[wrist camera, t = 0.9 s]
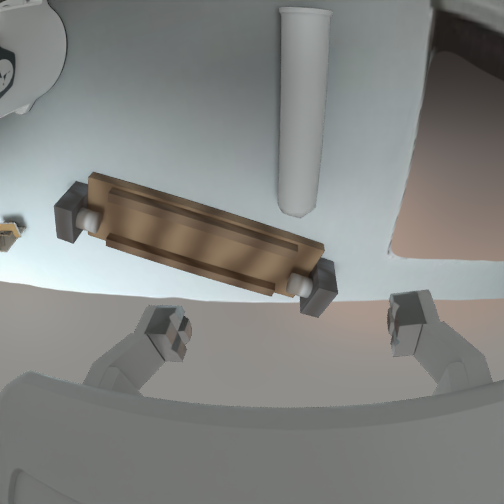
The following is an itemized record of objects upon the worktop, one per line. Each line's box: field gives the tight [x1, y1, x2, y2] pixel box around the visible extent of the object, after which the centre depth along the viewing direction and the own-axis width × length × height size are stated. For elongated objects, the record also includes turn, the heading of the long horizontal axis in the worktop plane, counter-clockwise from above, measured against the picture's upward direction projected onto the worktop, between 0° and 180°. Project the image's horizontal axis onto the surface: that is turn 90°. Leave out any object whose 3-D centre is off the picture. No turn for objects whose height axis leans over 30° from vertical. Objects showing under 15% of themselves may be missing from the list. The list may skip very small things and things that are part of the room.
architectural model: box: [0, 221, 26, 252], centre depth 45 cm, size 3×7×7 cm, turn 91°
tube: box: [278, 7, 333, 218], centre depth 32 cm, size 5×5×25 cm
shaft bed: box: [54, 172, 338, 318], centre depth 44 cm, size 41×11×6 cm, turn 71°
